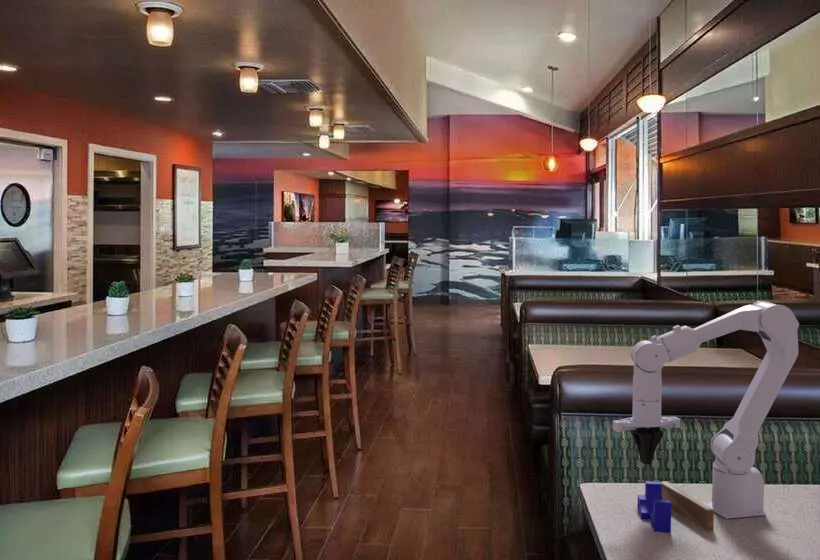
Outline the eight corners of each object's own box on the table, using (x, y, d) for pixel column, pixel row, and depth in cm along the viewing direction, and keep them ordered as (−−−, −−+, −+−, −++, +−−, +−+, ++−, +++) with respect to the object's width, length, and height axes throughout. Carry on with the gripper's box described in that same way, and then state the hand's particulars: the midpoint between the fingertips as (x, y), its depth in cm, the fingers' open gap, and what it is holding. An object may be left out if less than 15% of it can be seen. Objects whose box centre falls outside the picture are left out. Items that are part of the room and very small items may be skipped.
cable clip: (637, 508, 150) (637, 480, 150) (659, 509, 150) (660, 481, 149) (646, 532, 139) (646, 501, 138) (670, 533, 138) (671, 503, 138)
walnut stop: (666, 500, 154) (667, 481, 154) (713, 530, 139) (714, 508, 138) (660, 501, 154) (660, 481, 154) (706, 531, 138) (706, 509, 138)
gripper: (667, 392, 155) (666, 454, 156) (605, 396, 152) (605, 459, 153) (686, 400, 148) (685, 464, 149) (622, 404, 145) (621, 470, 146)
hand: (645, 462), depth 150 cm, fingers closed
